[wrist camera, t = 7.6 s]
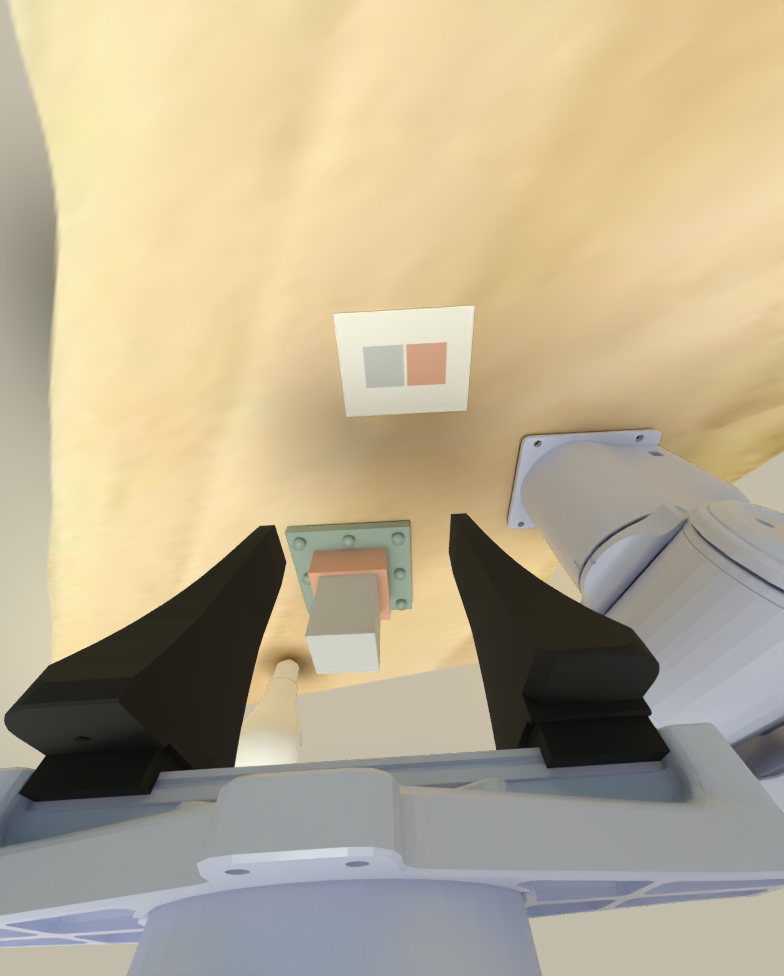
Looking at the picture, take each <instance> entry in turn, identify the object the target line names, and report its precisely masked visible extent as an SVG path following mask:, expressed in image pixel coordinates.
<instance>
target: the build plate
mask: <svg viewBox="0 0 784 976" xmlns="http://www.w3.org/2000/svg"><path fill="white" fill-rule="evenodd" d="M285 535H286V539H287V542H288V546H289V549H290V553H291V556H292V559H293V563H294V566H295V570H296V573H297V576H298V580H299V583H300V587H301V590H302V594H303V597H304V600H305V604H306V607H307V611H308V614H310V613H311V609H312V605H313V601H314V594H313V591H312V587H311V583H310V579H309V576H308V571H309V568H310V564H311V560H312V557H313V553H314V551H318V550H338V549H358V548H377V547H386V550H387V563H388V576H389V589H390V610H405V609H412V593H411V553H410V524H409V521H393V522H374V523H354V524H335V525H316V526H296V527H287V529H286V532H285Z"/></svg>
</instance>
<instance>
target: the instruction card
mask: <svg viewBox="0 0 784 976" xmlns="http://www.w3.org/2000/svg"><path fill="white" fill-rule="evenodd" d="M474 309H475V306H457V307H440V308H422V309H405V310H387V311H370V312H353V313H335V314H333V316H334V324H335V332H336V340H337V347H338V355H339V363H340V371H341V378H342V386H343V394H344V402H345V409H346V417H355V416H373V415H391V414H410V413H428V412H446V411H464V410H467V401H468V387H469V374H470V361H471V348H472V335H473V322H474Z"/></svg>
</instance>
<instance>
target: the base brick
mask: <svg viewBox="0 0 784 976" xmlns="http://www.w3.org/2000/svg"><path fill="white" fill-rule="evenodd" d="M374 573H377V583H378V593H379V603H380V620H390V589H389V576H388V563H387V550H386V547H377V548H358V549H338V550H318V551H314V553H313V557H312V560H311V564H310V568H309V571H308V576H309V579H310V583H311V587H312V591H313V594H314V597H315V592H316V588H317V584H318V580H319V576H331V575H353V574H374Z"/></svg>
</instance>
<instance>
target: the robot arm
mask: <svg viewBox="0 0 784 976" xmlns="http://www.w3.org/2000/svg"><path fill="white" fill-rule="evenodd" d="M639 435H640V436H639ZM661 435H662V434H661V432H660V431H658V430H656V429H643V430H625V431H606V432H588V433H569V434H551V435H532V436H527V437H525V438H524V439H523V440H522V443H521V448H520V454H519V459H518V465H517V470H516V476H515V482H514V487H513V493H512V498H511V504H510V510H509V515H508V521H507V524H508V526H509V528H511V529H527V528H537V529H538V530H539V532H540V533H541V535H542V536H543V538H544V539H545V541H546V542H547V544H548V545H549V547H550V548H551V550H552V551H553V553H554V554H555V556H556V557H557V559H558V560H559V562H560V563H561V564H562V566H563V567H564V569H565V570H566V572H567V573H568V575H569V576H570V578H571V579H572V581H573V582H574V584H575V585H576V587H577V588H578V590H579V591H580V593H581V594H582V600H581V603H578V602H577V601H575V600H573V599H571V598H569V597H568V596H566V595H564V594H562V593H561V592H559V591H558V590H556V589H554V588H553V587H551V586H549V585H548V584H546V583H545V582H543V581H542V580H540V579H539V578H537V577H536V576H535V575H533V574H532V573H530V572H529V571H528V570H526V569H525V568H523V567H522V566H521V565H520V564H518V563H517V562H516V561H515V560H513V559H512V558H511V557H510V556H509V555H508V554H506V553H505V552H504V551H503V550H502V549H501V548H500V547H499V546H498V545H497V544H496V543H495V542H493V541H492V540H491V539H490V538H489V537H488V536H487V535H486V534H485V533H484V532H483V531H482V530H481V528H480V527H479V526H478V525H477V524H476V523H475V522H474V521H473V520H472V519H471V518H470V517H469V516H468V515H467V514H466V513H464V514H451V524H450V540H449V556H450V561H451V566H452V571H453V575H454V578H455V581H456V584H457V587H458V590H459V593H460V596H461V599H462V602H463V605H464V608H465V611H466V614H467V617H468V620H469V623H470V627H471V630H472V633H473V638H474V642H475V646H476V651H477V655H478V660H479V664H480V669H481V673H482V678H483V683H484V687H485V693H486V698H487V703H488V707H489V713H490V718H491V723H492V729H493V733H494V740H495V744H496V750H492V751H478V752H462V753H447V754H431V755H416V756H400V757H385V758H370V759H354V760H339V761H325V762H308V763H293V764H277V765H262V766H247V767H235V761H236V755H237V749H238V744H239V738H240V732H241V727H242V722H243V717H244V712H245V707H246V702H247V697H248V693H249V688H250V684H251V680H252V675H253V671H254V667H255V663H256V659H257V655H258V651H259V647H260V644H261V641H262V638H263V635H264V632H265V629H266V626H267V624H268V621H269V618H270V615H271V613H272V610H273V607H274V604H275V602H276V599H277V596H278V593H279V590H280V587H281V584H282V580H283V576H284V571H285V566H286V559H285V556H284V553H283V550H282V547H281V543H280V540H279V537H278V534H277V531H276V527H275V525H268V526H259V527H258V528H257V529H256V530H255V531H253V532H252V533H251V534H250V535H249V536H248V537H247V538H246V539H245V540H243V541H242V542H241V543H240V544H239V545H238V546H237V547H236V548H235V549H234V550H232V551H231V552H230V553H229V554H228V555H227V556H226V557H225V558H223V559H222V560H221V561H220V562H219V563H218V564H216V565H215V566H214V567H213V568H211V569H210V570H209V571H208V572H207V573H205V574H204V575H203V576H202V577H201V578H199V579H198V580H197V581H195V582H194V583H193V584H191V585H190V586H189V587H187V588H186V589H185V590H183V591H182V592H180V593H179V594H178V595H176V596H175V597H173V598H172V599H170V600H169V601H167V602H166V603H164V604H163V605H161V606H159V607H158V608H156V609H155V610H153V611H151V612H150V613H148V614H147V615H145V616H143V617H142V618H140V619H139V620H137V621H135V622H133V623H132V624H130V625H128V626H126V627H125V628H123V629H121V630H119V631H117V632H116V633H114V634H112V635H110V636H108V637H106V638H104V639H102V640H101V641H99V642H97V643H95V644H93V645H91V646H89V647H87V648H85V649H82V650H80V651H78V652H76V653H74V654H72V655H70V656H68V657H66V658H64V659H62V660H60V661H58V662H55V663H53V664H51V665H49V666H48V667H47V668H46V669H45V670H44V671H43V673H42V674H41V675H40V676H39V677H38V678H37V679H36V680H35V682H34V683H33V684H32V685H31V686H30V687H29V688H28V689H27V690H26V692H25V693H24V694H23V695H22V696H21V697H20V698H19V699H18V701H17V702H16V703H15V704H14V705H13V706H12V707H11V708H10V709H9V710H8V712H7V713H6V714H5V718H4V722H5V725H6V727H7V729H8V730H9V731H10V732H11V733H12V734H14V735H15V736H16V737H18V738H19V739H21V740H22V741H24V742H26V743H27V744H29V745H30V746H32V747H34V748H35V749H37V750H38V751H40V752H41V753H43V754H44V755H46V756H45V758H44V759H43V760H42V762H41V763H40V765H39V766H38V767H37V769H36V770H34V769H30V768H22V767H16V768H0V948H9V947H30V946H32V947H34V946H59V945H61V946H62V945H95V944H128V943H139V944H138V946H137V949H136V952H135V955H134V958H133V960H132V963H131V965H130V968H129V970H128V973H127V976H542V974H541V970H540V966H539V962H538V957H537V954H536V949H535V945H534V941H533V937H532V932H531V928H530V924H529V920H528V918H538V917H547V916H556V915H565V914H574V913H582V912H593V911H602V910H611V909H620V908H629V907H639V906H648V905H658V904H667V903H677V902H688V901H700V900H711V899H724V898H736V897H750V896H758V895H762V894H765V893H768V892H772V891H775V890H778V889H782V888H784V514H782V513H780V512H777V511H774V510H771V509H768V508H765V507H762V506H759V505H755V504H752V503H751V502H750V501H749V500H748V498H747V497H746V496H745V495H744V494H743V493H742V492H741V491H740V490H739V489H737V488H736V487H734V486H733V485H732V484H730V483H728V482H726V481H724V480H723V479H721V478H719V477H717V476H715V475H713V474H711V473H709V472H707V471H706V470H704V469H702V468H700V467H698V466H696V465H694V464H692V463H690V462H688V461H687V460H685V459H683V458H681V457H679V456H677V455H675V454H673V453H671V452H670V451H668V450H666V449H664V448H662V447H660V446H658V443H659V441H660V438H661ZM637 436H639V438H638V439H636V437H637ZM538 440H539V443H538V444H537V445H534V443H535V442H536V441H538ZM519 522H522V523H521V524H518V523H519Z"/></svg>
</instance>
